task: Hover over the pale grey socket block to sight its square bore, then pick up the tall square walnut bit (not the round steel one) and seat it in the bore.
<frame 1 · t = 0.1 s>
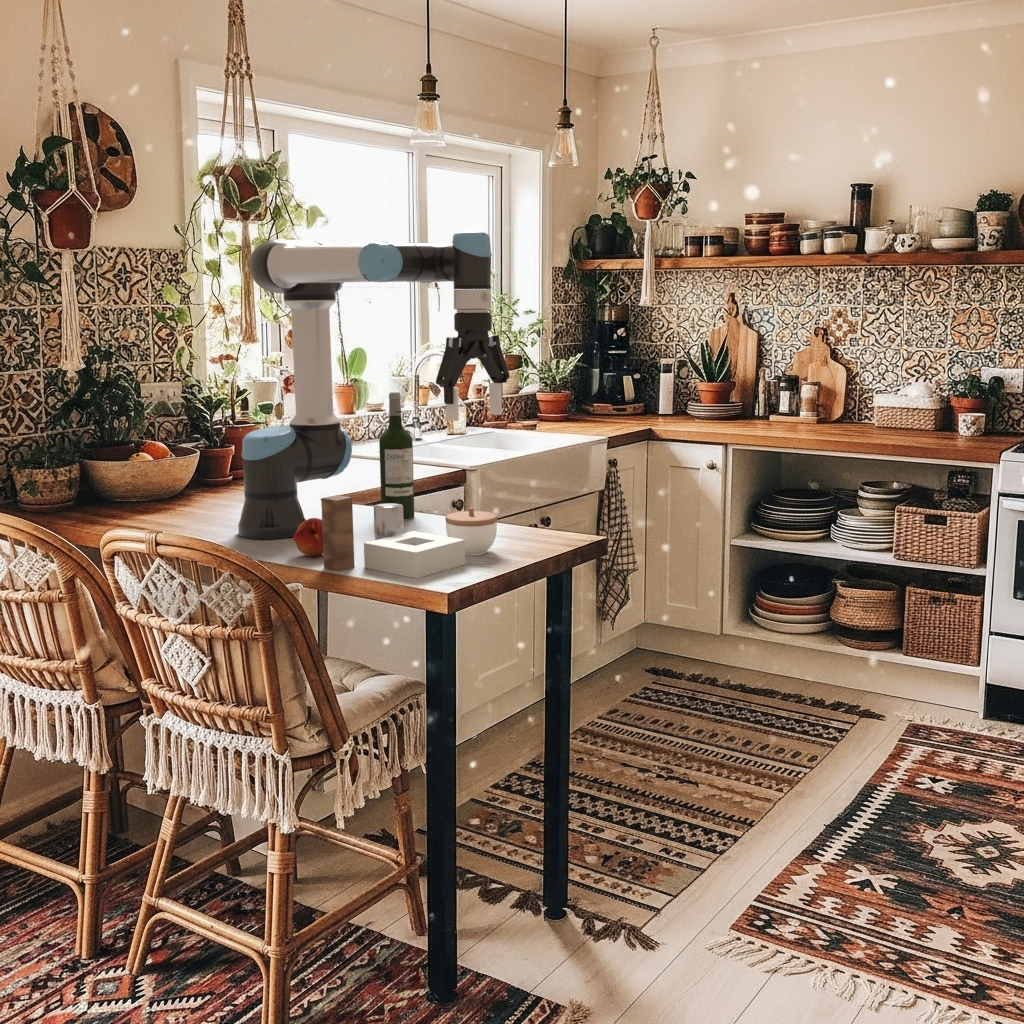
hand: (474, 417, 231), 28 cm above the breakfast bar, fingers open, 13 cm apart
fruit: (313, 557, 233), on the breakfast bar
lidded jar: (472, 553, 235), on the breakfast bar
socket block: (415, 566, 224), on the breakfast bar
square bit: (339, 567, 223), on the breakfast bar
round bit: (389, 553, 235), on the breakfast bar
wine bottle: (398, 518, 273), on the breakfast bar
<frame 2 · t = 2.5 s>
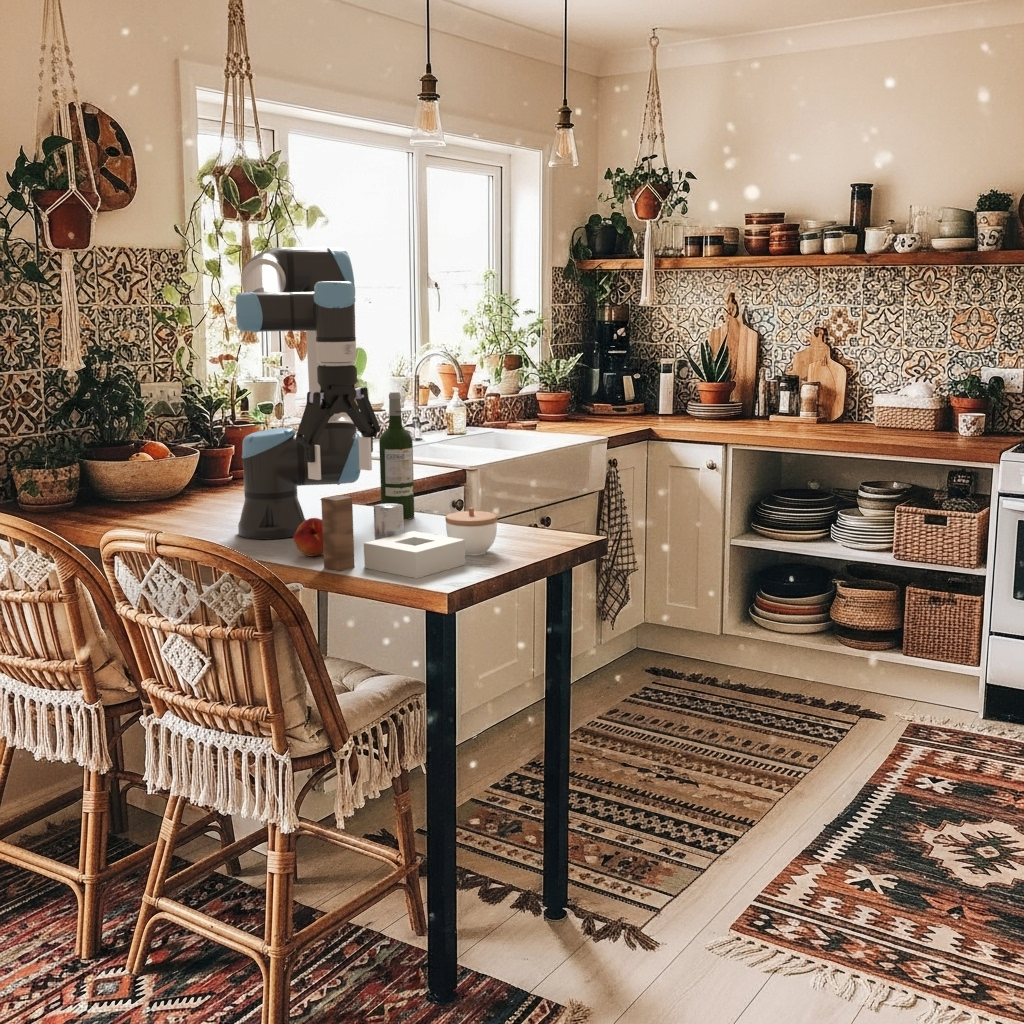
hand: (340, 474, 220), 18 cm above the breakfast bar, fingers open, 13 cm apart
nothing on the breakfast bar moved.
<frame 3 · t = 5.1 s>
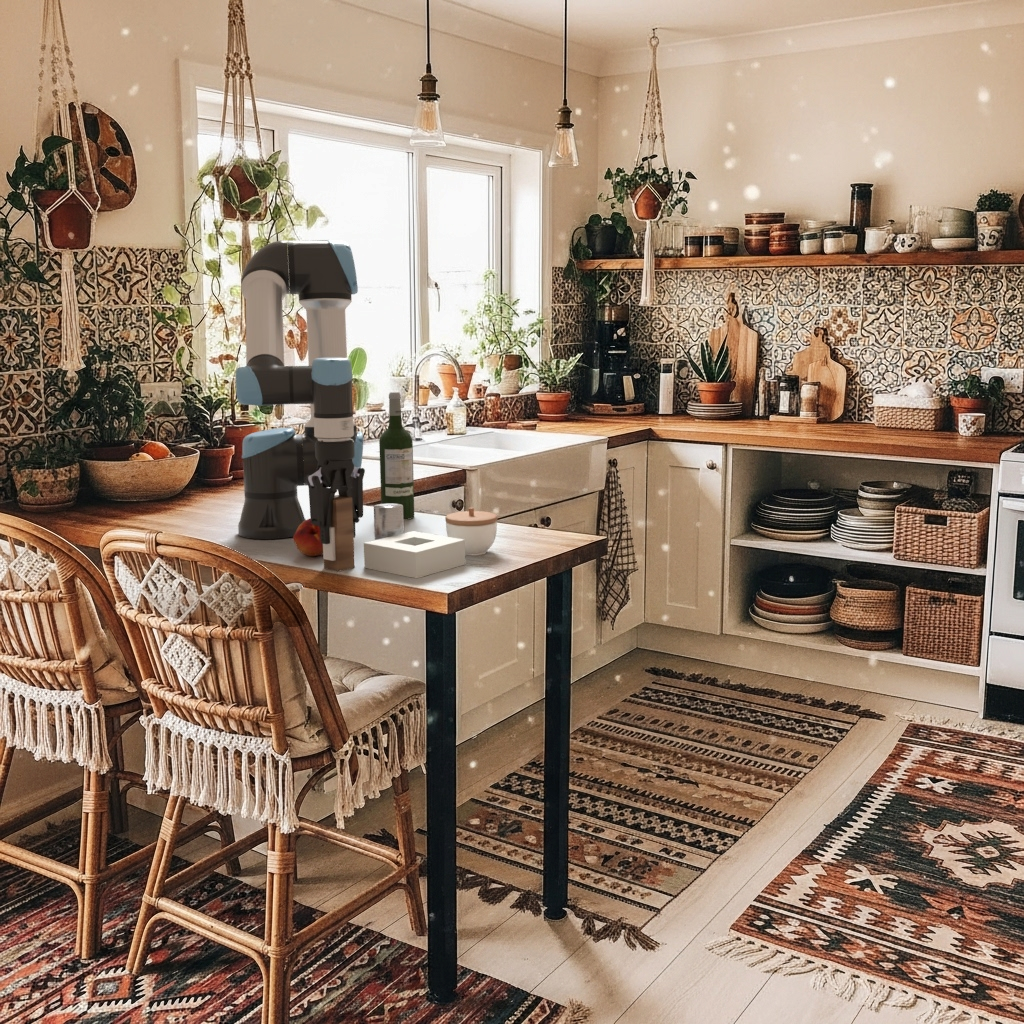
hand: (338, 556, 222), 2 cm above the breakfast bar, fingers closed on square bit, 4 cm apart
square bit: (339, 567, 223), on the breakfast bar, touching gripper
everything else where it was.
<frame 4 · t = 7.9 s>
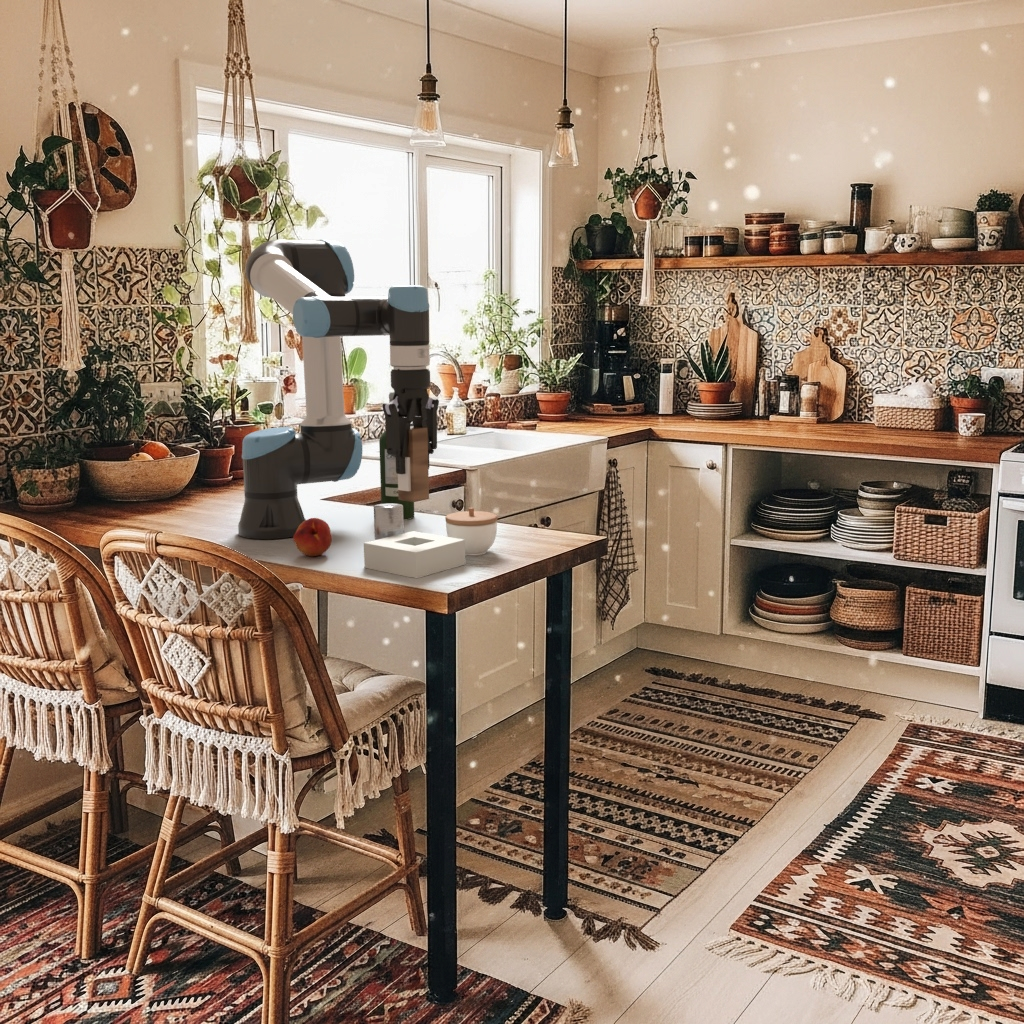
hand: (413, 488, 221), 16 cm above the breakfast bar, fingers closed on square bit, 4 cm apart
square bit: (413, 499, 221), point 13 cm above the breakfast bar, touching gripper
everything else where it was.
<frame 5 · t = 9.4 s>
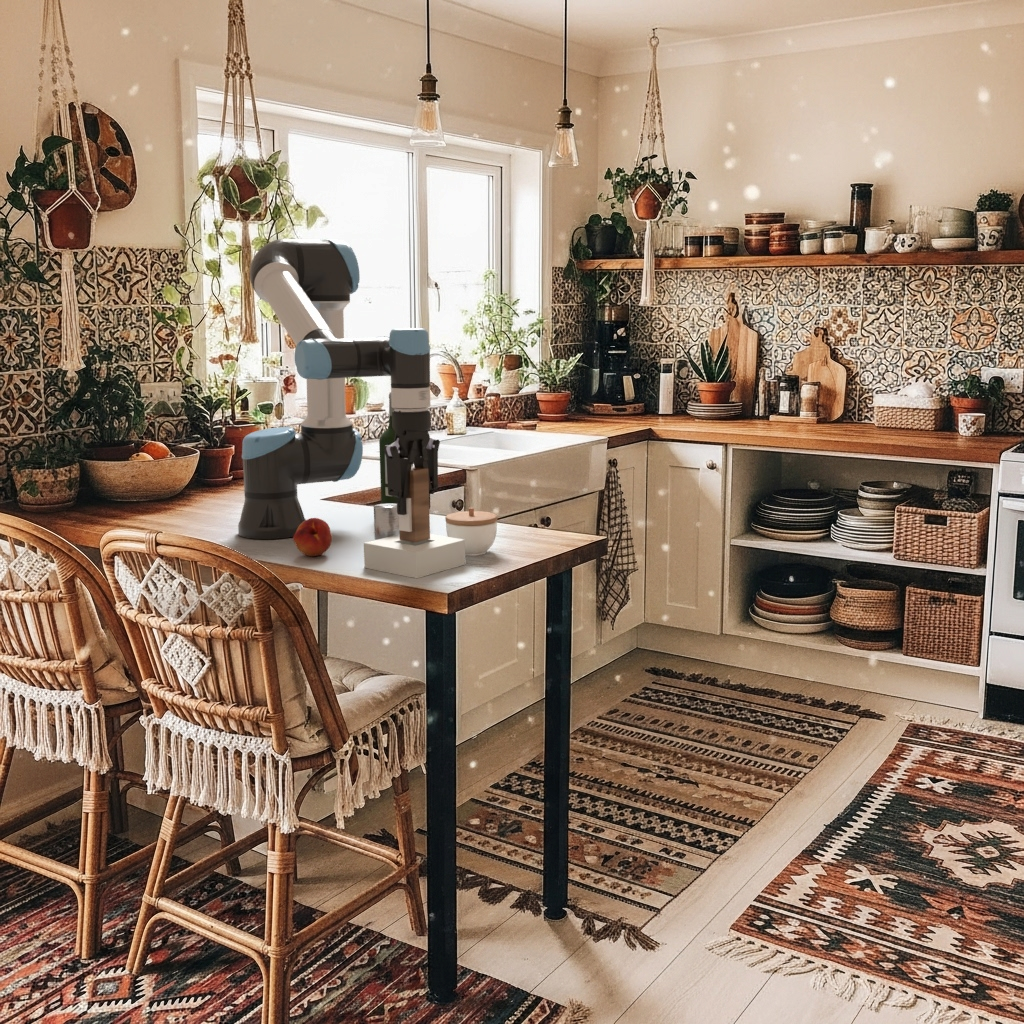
hand: (414, 528, 222), 8 cm above the breakfast bar, fingers closed on square bit, 4 cm apart
square bit: (414, 539, 223), point 5 cm above the breakfast bar, touching gripper
everything else where it was.
when the fingers open (6 cm above the breakfast bar, at t = 10.5 s): square bit drops 4 cm, resting in socket block.
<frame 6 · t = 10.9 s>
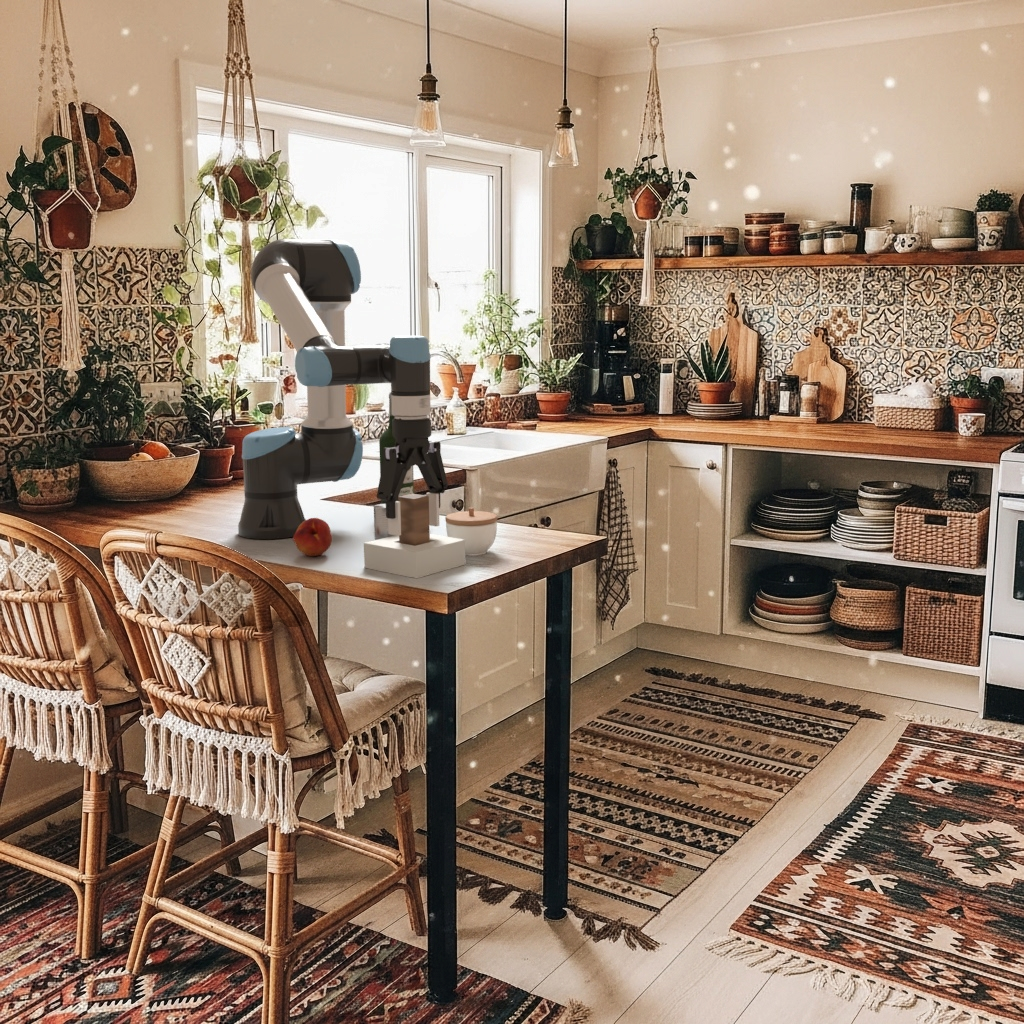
hand: (414, 529, 222), 7 cm above the breakfast bar, fingers open, 10 cm apart
square bit: (415, 566, 224), resting in socket block
everything else where it was.
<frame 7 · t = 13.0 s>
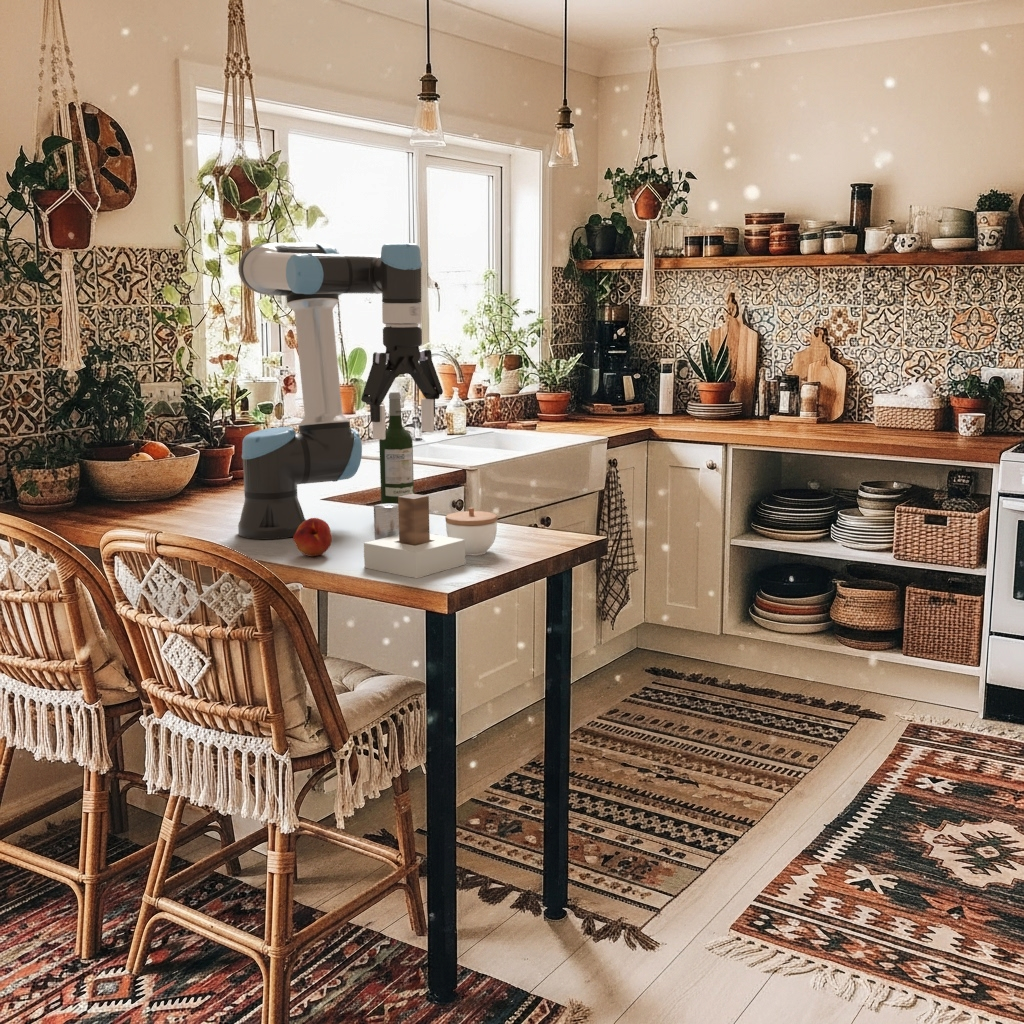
hand: (404, 435, 223), 25 cm above the breakfast bar, fingers open, 13 cm apart
nothing on the breakfast bar moved.
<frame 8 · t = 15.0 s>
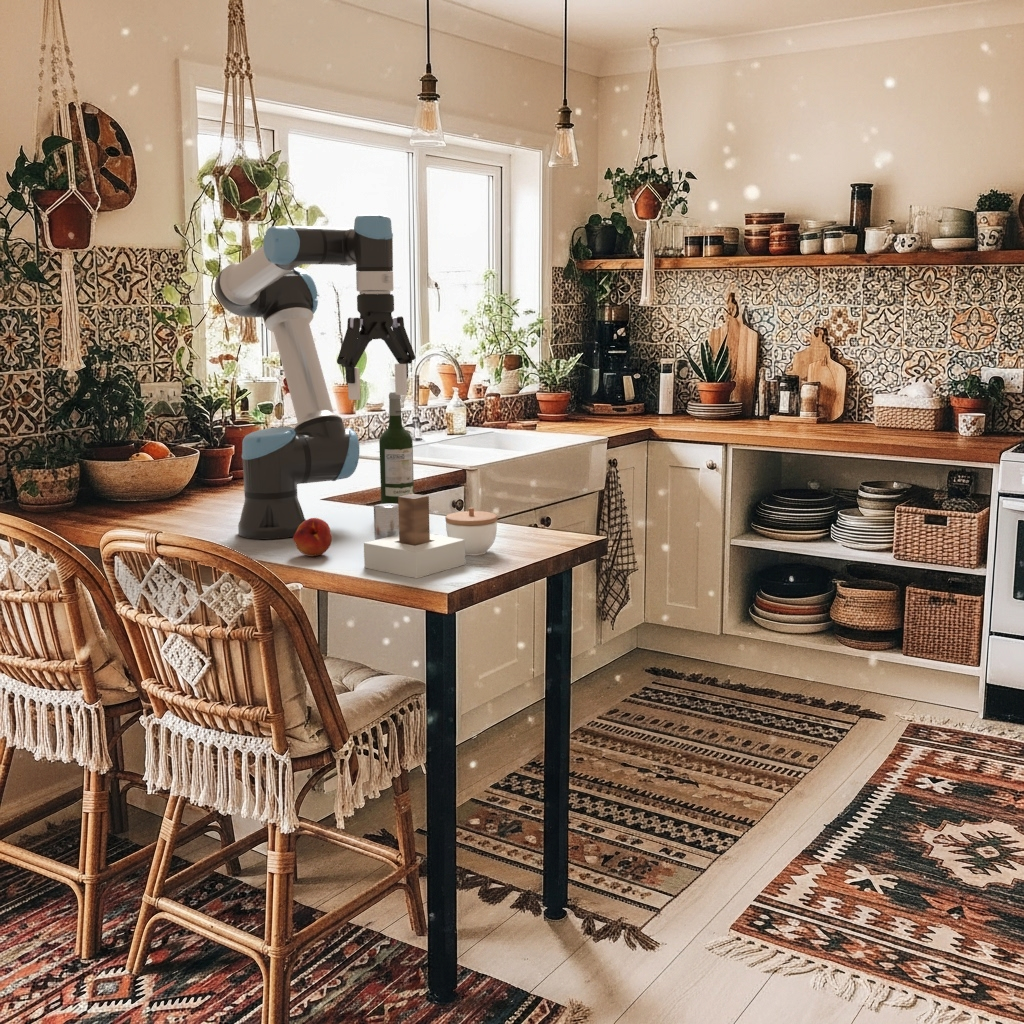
hand: (378, 397, 236), 32 cm above the breakfast bar, fingers open, 13 cm apart
nothing on the breakfast bar moved.
at the end: square bit 0.0 cm off-centre on the socket block, point 0.0 cm above the socket block's base; square bit tilted 0°; the gripper is holding nothing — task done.
